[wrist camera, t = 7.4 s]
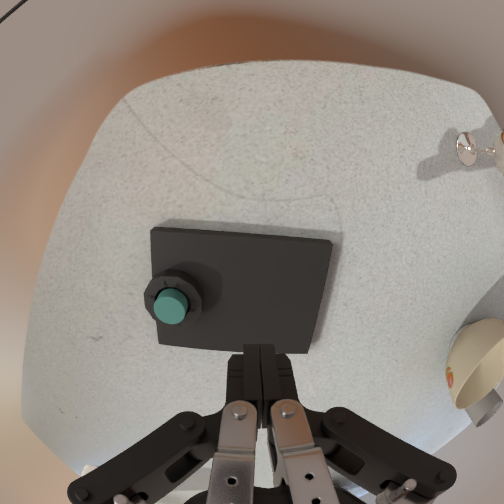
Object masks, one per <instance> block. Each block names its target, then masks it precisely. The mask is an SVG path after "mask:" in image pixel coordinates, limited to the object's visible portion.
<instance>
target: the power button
mask: <svg viewBox="0 0 504 504" xmlns="http://www.w3.org/2000/svg"><path fill="white" fill-rule="evenodd" d="M187 308H188V300H187V298H186V296H185V295H184V294H183V293H182V292H181V291H179V290H177V289H173V288H169V289H165V290H163V291H162V292H161V293H160V294H159V296H158V298H157V300H156V301H155V303H154V312H155V314H156V316H157V317H158V318H159V319H160V320H161V321H162V322H164V323H167V324H177V323H179V322H181V321H182V320H183V319H184V317H185V314H186V311H187Z"/></svg>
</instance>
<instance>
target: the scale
mask: <svg viewBox="0 0 504 504" xmlns="http://www.w3.org/2000/svg"><path fill="white" fill-rule="evenodd" d="M150 235H151V263H152V280H151V281H150V283H149V284H148V286H147V288H146V290H145V292H144V301H145V308H146V309H147V311H148V312H149V313H150V315H151V316H152V318H153V319H154V320H156V325H157V333H158V341H159V344H163V345H171V346H179V347H188V348H197V349H207V350H219V351H233V352H243V344H258V350H259V344H274V347H275V353H285V354H308V350H309V347H310V343H311V339H312V335H313V332H314V328H315V324H316V320H317V316H318V311H319V307H320V303H321V299H322V294H323V290H324V285H325V281H326V276H327V271H328V266H329V261H330V256H331V251H332V246H333V244H332V243H331V242H330V241H329V240H322V239H311V238H299V237H288V236H276V235H263V234H251V233H238V232H224V231H211V230H196V229H181V228H165V227H154V228H153V229H152V230H150ZM169 288H173V289H177V290H179V291H181V292H182V293H183V294H184V295H185V296H186V298H187V300H188V308H187V311H186V314H185V317H184V319H183V320H182V321H181V322H179V323H177V324H167V323H164V322H162V321H161V320H160V319H159V318H158V317H157V316H156V314H155V312H154V303H155V301H156V300H157V298H158V296H159V294H160V293H161V292H162V291H163V290H165V289H169Z"/></svg>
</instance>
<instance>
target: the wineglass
mask: <svg viewBox="0 0 504 504" xmlns="http://www.w3.org/2000/svg"><path fill="white" fill-rule="evenodd" d="M477 152H483V153H486V154H488V155H490V156H494V161H495V164H496V166H497V168H498V170H499V171H500V173H501V174H502V175H503V176H504V130H502V131H500V132H499V133H498V134H497V136H496V137H495V140H494V143H493V148H491V147H488V148H485V149H480V148H477V145H476V142H475V140H474V138H473V136H472V135H471V134H470V133H468V132H462V133H461V134H460V135H459V137H458V139H457V153H458V156H459V159H460V160H461V162H462V163H463V164H464V165H466V166H471V165H473V164H474V162H475V161H476V158H477Z"/></svg>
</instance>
